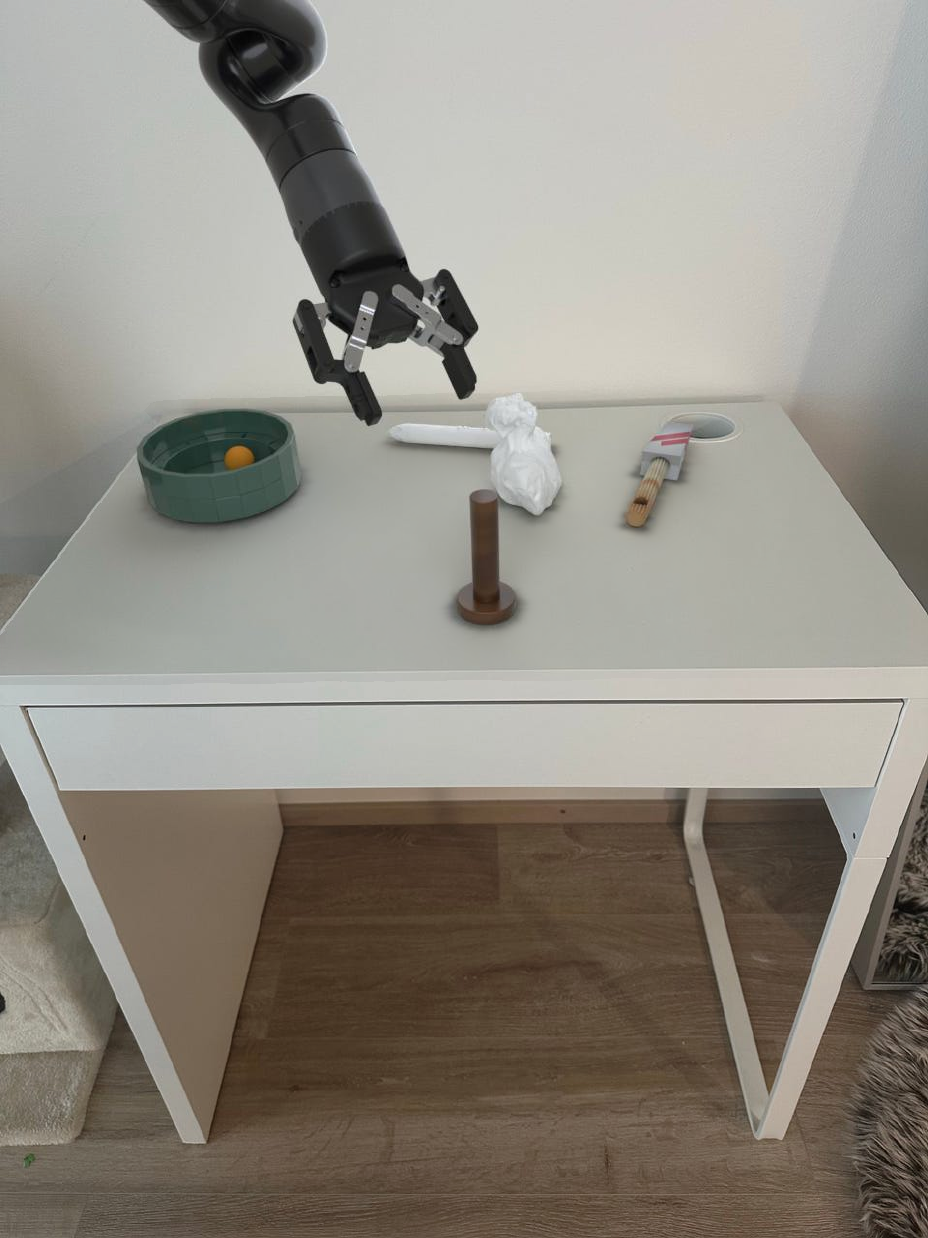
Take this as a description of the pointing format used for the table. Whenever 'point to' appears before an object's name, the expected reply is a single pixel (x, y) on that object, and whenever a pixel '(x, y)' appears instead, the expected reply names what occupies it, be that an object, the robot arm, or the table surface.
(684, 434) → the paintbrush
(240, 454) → the bead
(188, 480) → the bowl
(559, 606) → the table surface
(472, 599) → the wooden peg stand
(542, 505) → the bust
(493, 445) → the marker
